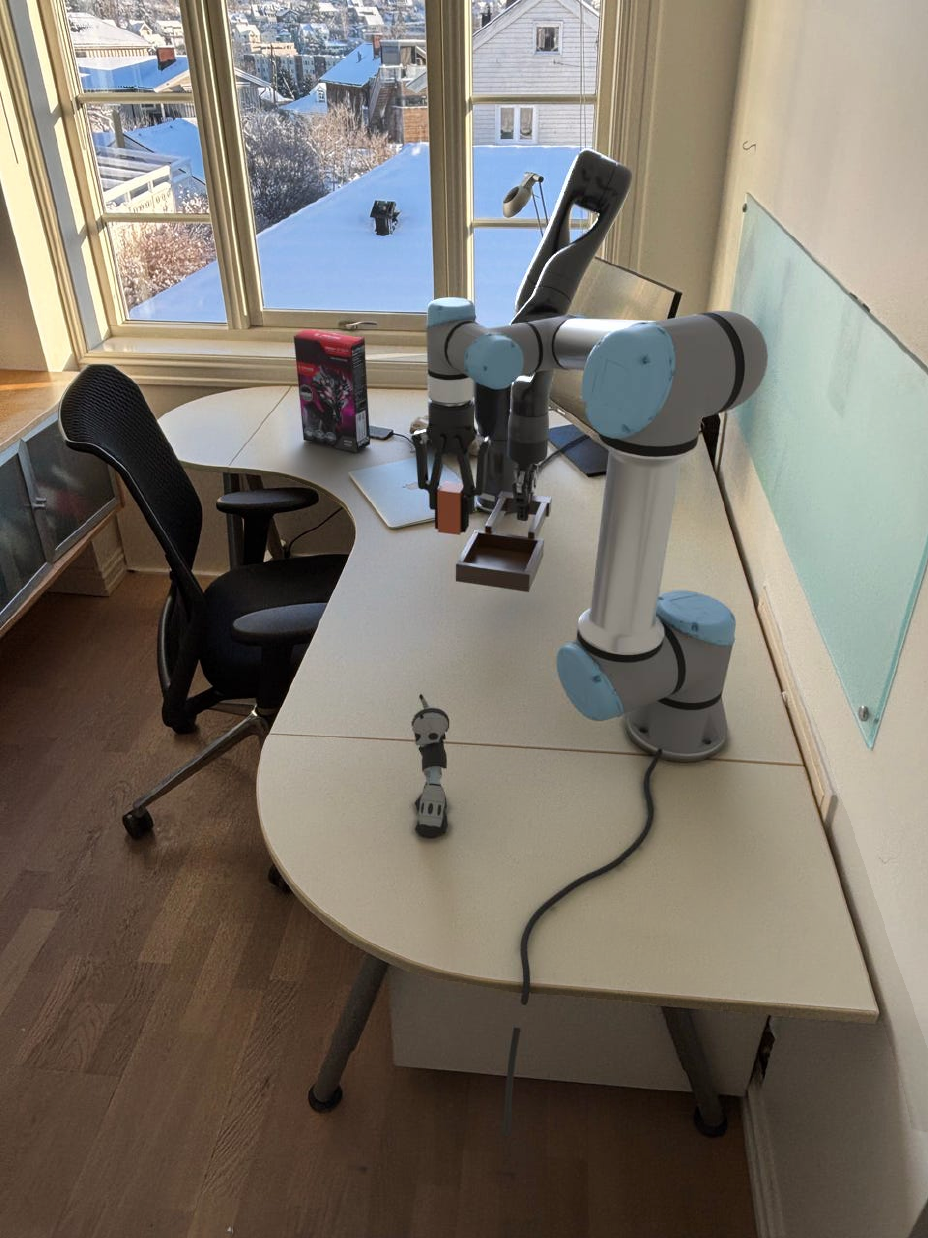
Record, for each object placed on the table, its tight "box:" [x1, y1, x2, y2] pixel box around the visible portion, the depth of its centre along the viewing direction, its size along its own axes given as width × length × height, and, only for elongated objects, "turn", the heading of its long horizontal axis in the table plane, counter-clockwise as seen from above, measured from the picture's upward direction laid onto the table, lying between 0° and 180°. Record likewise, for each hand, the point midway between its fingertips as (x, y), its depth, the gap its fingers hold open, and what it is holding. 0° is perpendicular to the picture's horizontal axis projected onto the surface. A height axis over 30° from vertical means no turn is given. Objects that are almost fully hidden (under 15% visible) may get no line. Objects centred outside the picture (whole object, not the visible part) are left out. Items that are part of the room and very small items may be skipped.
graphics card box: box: [293, 328, 371, 453], centre depth 227 cm, size 17×7×27 cm, turn 62°
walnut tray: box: [455, 491, 553, 593], centre depth 169 cm, size 28×13×4 cm, turn 165°
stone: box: [409, 414, 478, 457], centre depth 232 cm, size 21×15×6 cm
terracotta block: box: [437, 480, 464, 536], centre depth 160 cm, size 4×4×8 cm
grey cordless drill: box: [410, 693, 450, 839], centre depth 122 cm, size 20×5×20 cm, turn 3°
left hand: (524, 516), depth 180 cm, fingers closed on walnut tray, 2 cm apart
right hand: (452, 526), depth 162 cm, fingers closed on terracotta block, 4 cm apart
